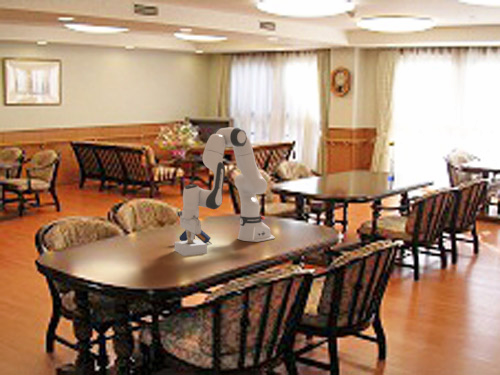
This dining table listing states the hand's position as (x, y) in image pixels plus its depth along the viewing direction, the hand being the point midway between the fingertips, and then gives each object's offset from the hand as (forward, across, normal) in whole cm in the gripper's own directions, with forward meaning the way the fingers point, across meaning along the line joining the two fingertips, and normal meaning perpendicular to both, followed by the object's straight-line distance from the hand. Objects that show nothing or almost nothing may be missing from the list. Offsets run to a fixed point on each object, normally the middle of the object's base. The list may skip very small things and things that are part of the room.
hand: (190, 238), depth 365 cm
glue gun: (+8, +18, -12) cm, 23 cm away
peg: (+4, 0, 0) cm, 4 cm away
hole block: (+7, 0, 0) cm, 7 cm away
